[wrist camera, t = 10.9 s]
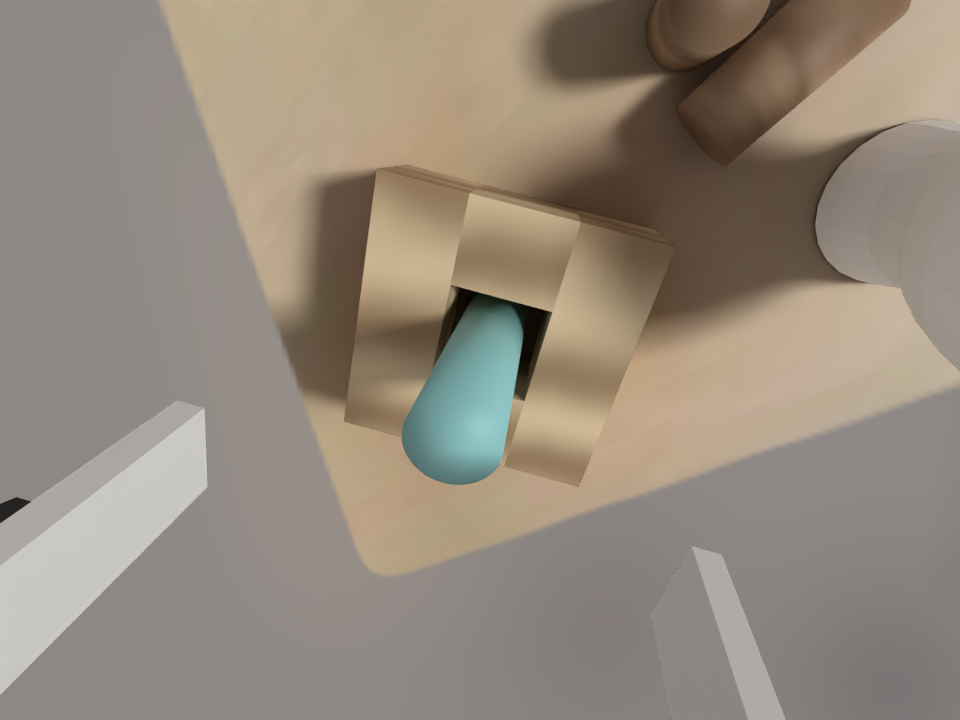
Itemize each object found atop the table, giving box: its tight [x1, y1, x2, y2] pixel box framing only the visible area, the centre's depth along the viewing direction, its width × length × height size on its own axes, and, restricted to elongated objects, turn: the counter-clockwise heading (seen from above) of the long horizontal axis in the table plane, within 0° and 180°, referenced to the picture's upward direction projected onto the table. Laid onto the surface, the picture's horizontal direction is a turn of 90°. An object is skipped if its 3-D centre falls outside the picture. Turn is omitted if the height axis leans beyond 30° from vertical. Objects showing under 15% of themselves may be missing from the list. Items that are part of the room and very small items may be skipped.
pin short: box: [646, 0, 770, 71], centre depth 20 cm, size 4×4×5 cm
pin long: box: [402, 292, 527, 485], centre depth 23 cm, size 4×4×14 cm
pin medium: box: [677, 0, 911, 165], centre depth 21 cm, size 4×4×8 cm
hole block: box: [344, 165, 676, 487], centre depth 27 cm, size 14×14×5 cm
